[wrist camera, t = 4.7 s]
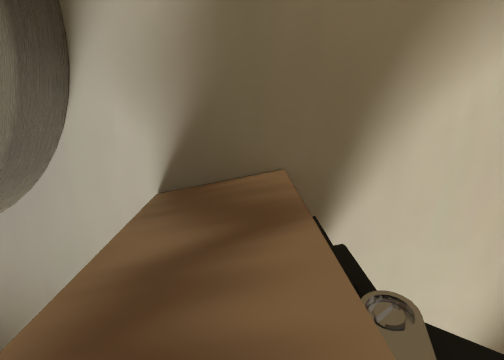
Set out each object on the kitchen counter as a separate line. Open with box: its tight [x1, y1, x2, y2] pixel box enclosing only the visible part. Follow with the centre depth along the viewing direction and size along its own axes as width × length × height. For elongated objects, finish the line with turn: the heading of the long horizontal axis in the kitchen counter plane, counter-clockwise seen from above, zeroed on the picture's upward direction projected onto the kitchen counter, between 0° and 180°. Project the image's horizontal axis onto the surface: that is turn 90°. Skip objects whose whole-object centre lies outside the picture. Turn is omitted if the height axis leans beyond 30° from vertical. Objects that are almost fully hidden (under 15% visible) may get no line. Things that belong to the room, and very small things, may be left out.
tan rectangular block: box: [0, 169, 396, 360], centre depth 7 cm, size 6×6×10 cm
